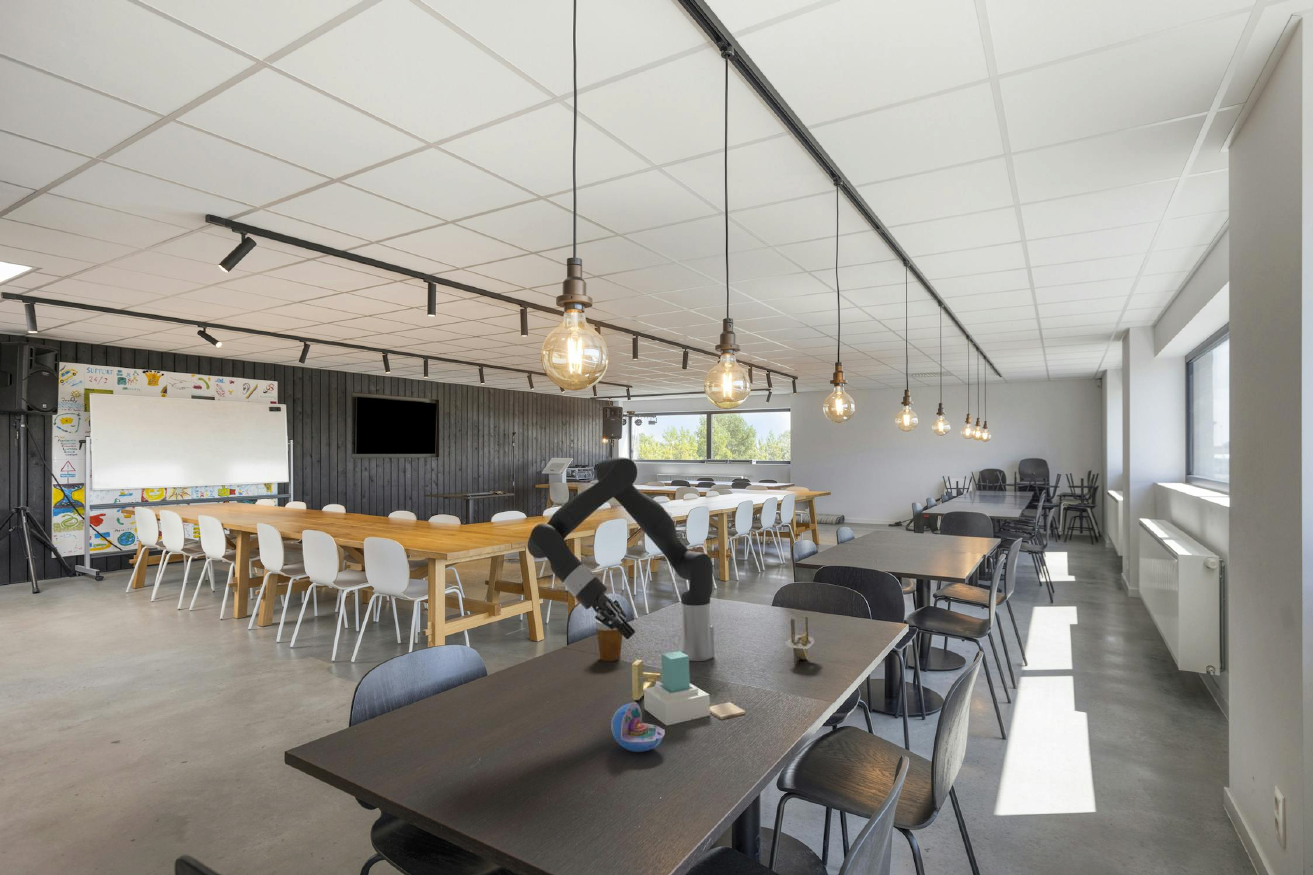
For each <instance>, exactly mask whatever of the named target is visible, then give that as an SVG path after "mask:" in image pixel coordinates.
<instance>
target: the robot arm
mask: <svg viewBox="0 0 1313 875" xmlns="http://www.w3.org/2000/svg"><path fill="white" fill-rule="evenodd" d="M595 469H596V470H595V474H596V479H597V482H596V483H595V484H594V485H592V486H590V487H588V488H587V489H584V491H581V492H580V493H578V494H576V495H575V496H573V497H571V498H570V499H569V500H567V502H565V503H564V504H563V505H562V506H560V507H559V508H558V509H557V510H555V512H554V513H553V514H552V516H551V518H550V519H549V520H548V522H547V523H540V524H537V525H535V526H534V527H533V528H532V530H531V532H530V535H529V538H528V540H527V550H528V553H529V555H530V556H532V557H534V558H536V559H543V558H546V559H547V560H548V562H549V564H550V569H551V571H552V573H553V574H554V575H555V576H556V577H557V578H558V579H559V581H560V582H561V583H562V584H563V585H564V587H566V589H567V590H568V592H569V593H570V594H571V595H572V596H573V597H574V598H575V599H576V601H578V603H579V604H581V605H582V607H584V609H585V610H589V609H590V608H592V609H593V610H594V612H595V613H596V615H595V616H594V618H595V619H596V620H598V621H600V622H601V623H603V624H604V625H606V626H607V627H609V628H610V629H612V630H613V629H616V630H618V631H619V632H620V633H621V634H622V637H624V638H625V639H626V640H629V639H630V638H631V637H632V636H633V635H635V633H636V630H635V629H634V628H633V627H632V626H631V625H630V624H629V623H628V622H627V619H626V617H627V615H626V613H625V611H624V610H623V608H622V606H621V605H620V603H619V601H618V600H616V599H615V600H614V601H613V600H612V599H611V598H609V597H608V596H607V595H606V593H607V591H608V587H607V586H606V585H605V584H604V583H603V582H602V581H601V580H600V579H599V577H598V576H596V575H595V574H594V572H592V570H590V569H589V568H588V567H587V566H586V565H585V564H583V562H582V561H581V560H580V559H579V558H578V557H577V556H576V555H575V554H574V553H573V552H572V551H571V549H570V547H569V545H568V544H567V542H566V540H565V539H566V538H567V537H568V535H570V534H572V532H573V531H574V530H575V529H577V528H578V527H579V526H580V525H581V524H582V523H583V522H584V521H586V519H588V518H589V517H590V516H591V515H592V514H594V512H596V511H597V510H598V509H599V508H600V507H602V506H603V505H605V504H606V503H608V501H610V500H611V499H615V500H616V501H617V502H618V503H619V504H620V505H621V506H622V508H624V510H625V511H626V512H627V513H628V514H629V516H630V517H631V518H632V519H633V520H634V521H635V523H637V525H638V526H639V528H641V530H642V531H643V532H644V533H645V535H646V536H647V537H648V538H649V540H650V541H652V543H653V544H654V545H655V546H656V547H657V548H658V549H659V550H660V552H661V553H662V554H663V555H664V556H665V558H666V559H667V561H668V562H669V564H670V565H671V567H672V568H673V570H674V571H675V574H677V575H678V577H680V578H681V579H683V580H686V581H689V588H688V590H687V591H684V592H683V593H681V596H680V597H681V598H680V603H681V604H680V605H681V607H680V608H681V635H682V636H681V637H682V638H681V642H682V651H681V652H682V653H684V654H686V655H688V656H689V662H703V661H709V660H710V659H712V658H715V630H714V629H715V628H714V626H712V617H711V616H712V615H711V614H712V613H711V598H712V593H713V582H714V579H713V578H714V575H713V574H714V573H713V572H714V569H713V567H714V566H713V561H712V558H711V557H710V556H709V555H708V554H706V553H705V552H699V551H693V550H690V549H689V548H688V547H687V546H685V544H684V543H682V541H681V540H680V538H679V536H678V535H677V528H676V524H675V522H674V520H673V518H672V516H671V514H669V513H668V511H666V509H665V508H664V507H663V506H662V505H661V503H659V502H658V501H656V500H655V499H653V498H651V497H650V496H648V495H647V494H645V493H644V492H641V491H640V490H639V488H636V487H635V486H634V483H635V482H636V480H637V477H638V468H637V465H636V463H635V462H634V461H633V460H632V459H631V458H628V457H624V456H623V457H621V456H619V457H612V458H606V459H603V460H601V461H600V462H599V463H598V464H597V466H596V468H595Z"/></svg>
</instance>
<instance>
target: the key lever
mask: <svg viewBox="0 0 1313 875" xmlns="http://www.w3.org/2000/svg"><path fill="white" fill-rule="evenodd" d="M644 678H646V679H647V681H645V682H646V683H645V684H644V685H643V683H644ZM657 679H659V680H660V679H662V673H657V672H655V673H654V672H645V671H644V661H643V660H642V659H635V661H634V662H633V663H632V664H631V682H632V683H631V686H632V687H631V688H632V689H631V690H632V700H634V701H639V700H640V699H641V698H643V696H644V689H645V688H650V687H651V686H652V685H655V684H656V681H657Z"/></svg>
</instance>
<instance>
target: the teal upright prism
mask: <svg viewBox="0 0 1313 875" xmlns="http://www.w3.org/2000/svg"><path fill="white" fill-rule="evenodd" d="M690 679H691V678H690V661H689V656H688V655H686V654H684V653H683V651H680V650H678V651H672V652H666V653H661V680H662V682H661V683H662V684H663V688H664V689H665V690H667V691H668V692H670V693H674V692H678V691H683V690H688V689H690Z"/></svg>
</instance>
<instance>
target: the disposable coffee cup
mask: <svg viewBox="0 0 1313 875" xmlns="http://www.w3.org/2000/svg"><path fill="white" fill-rule="evenodd" d="M594 627H595V629H596V636H597V642H598V648H599V649H598V650H599V655H600V656H599V657H600V660H602V661H604V662H612V661H617V660H620V658H621V653H622V642H623V641H622V640H623V635H622V634H621V633H620V632H619V631H618V630H616V629H613V630H612V629H610V628H609V627H607V626H606V625H604V624H603V623H601V622H600V621H598V620H597V619H596V620H595V623H594Z"/></svg>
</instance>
